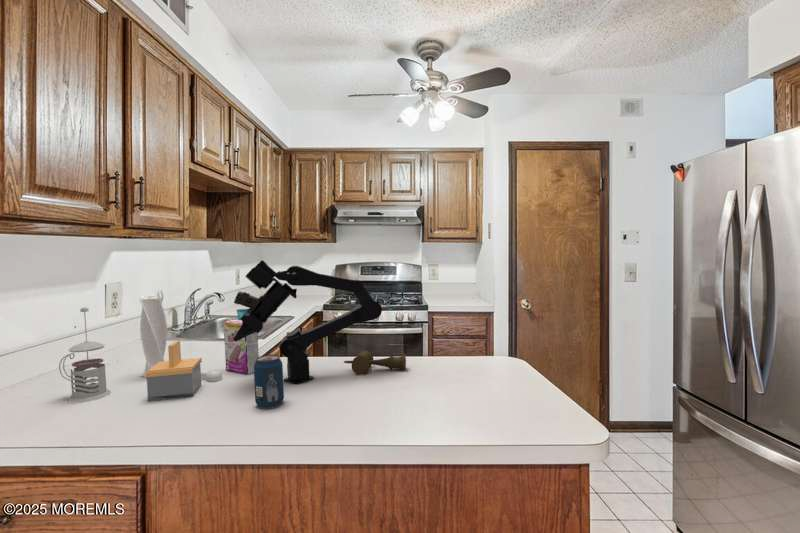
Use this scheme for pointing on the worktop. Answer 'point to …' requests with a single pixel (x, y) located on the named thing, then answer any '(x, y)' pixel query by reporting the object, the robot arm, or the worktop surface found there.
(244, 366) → the candy bar box
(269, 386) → the soda can
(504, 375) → the worktop surface
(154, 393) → the housing
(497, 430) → the worktop surface
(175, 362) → the lid
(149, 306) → the skyscraper
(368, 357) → the kendama
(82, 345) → the french press
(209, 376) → the ball with square handle
